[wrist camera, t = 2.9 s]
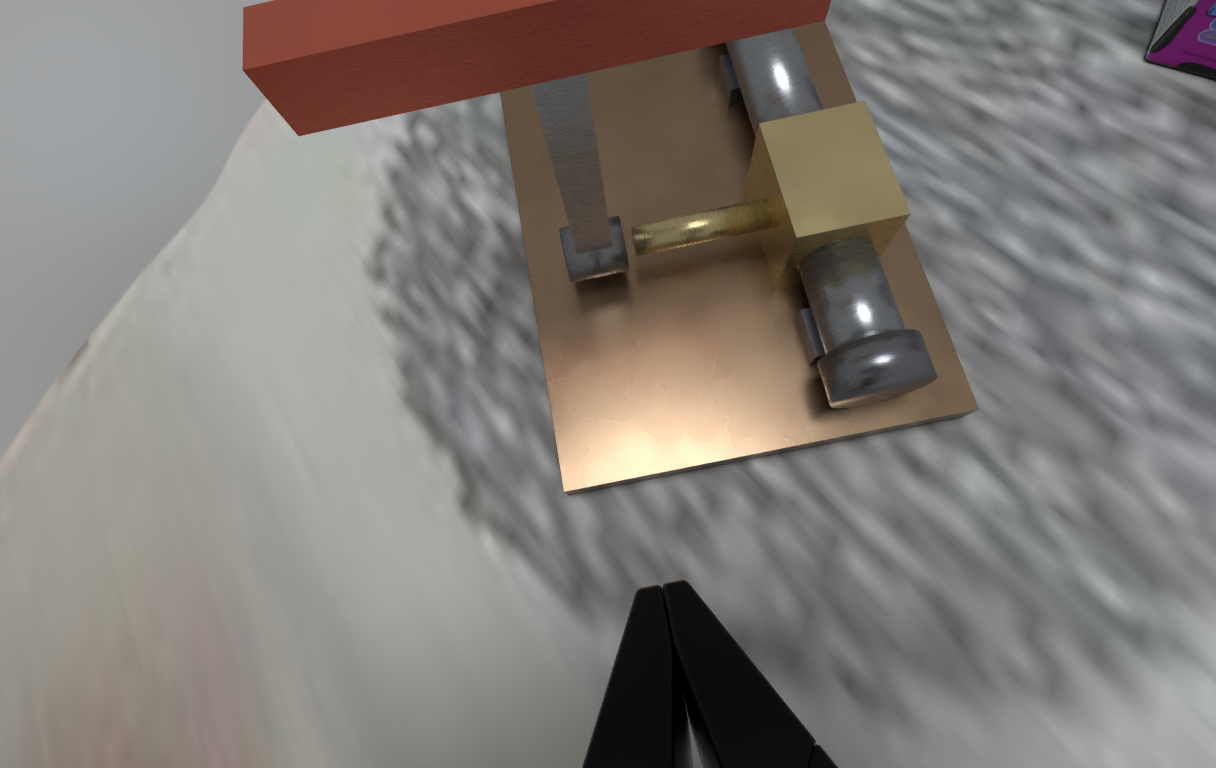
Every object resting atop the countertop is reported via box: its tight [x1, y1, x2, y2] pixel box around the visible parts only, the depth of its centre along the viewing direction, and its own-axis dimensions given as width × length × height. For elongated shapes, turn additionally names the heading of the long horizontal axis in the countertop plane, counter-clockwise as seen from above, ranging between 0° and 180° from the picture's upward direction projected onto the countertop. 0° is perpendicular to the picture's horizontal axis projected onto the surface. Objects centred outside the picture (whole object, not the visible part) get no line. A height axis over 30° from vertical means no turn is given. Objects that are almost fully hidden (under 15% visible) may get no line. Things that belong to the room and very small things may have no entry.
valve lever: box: [243, 0, 831, 283], centre depth 18 cm, size 2×13×13 cm, turn 101°
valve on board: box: [500, 21, 979, 495], centre depth 24 cm, size 22×16×5 cm
